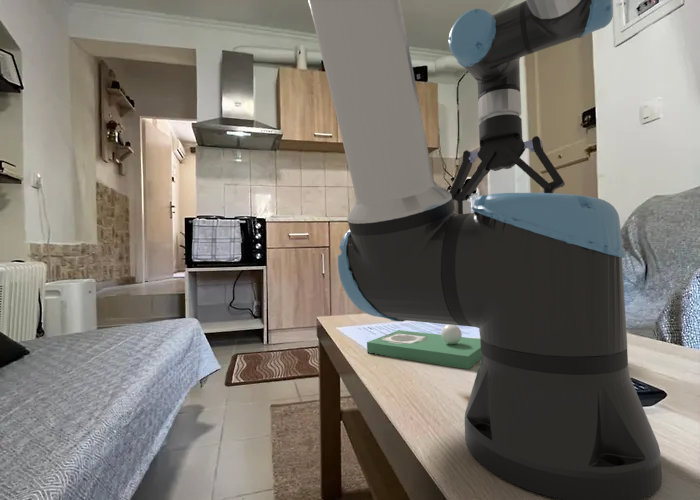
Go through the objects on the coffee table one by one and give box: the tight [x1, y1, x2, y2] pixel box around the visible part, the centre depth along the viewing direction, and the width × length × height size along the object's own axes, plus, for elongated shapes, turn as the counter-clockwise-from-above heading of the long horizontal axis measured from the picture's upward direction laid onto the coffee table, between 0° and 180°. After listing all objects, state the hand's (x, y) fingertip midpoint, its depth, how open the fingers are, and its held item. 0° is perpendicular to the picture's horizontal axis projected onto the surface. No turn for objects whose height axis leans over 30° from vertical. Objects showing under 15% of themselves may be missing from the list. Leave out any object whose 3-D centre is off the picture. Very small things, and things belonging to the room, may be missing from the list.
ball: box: [440, 324, 463, 344], centre depth 64 cm, size 4×4×4 cm
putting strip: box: [366, 329, 481, 370], centre depth 67 cm, size 12×19×2 cm, turn 53°
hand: (503, 231), depth 68 cm, fingers open, 13 cm apart
